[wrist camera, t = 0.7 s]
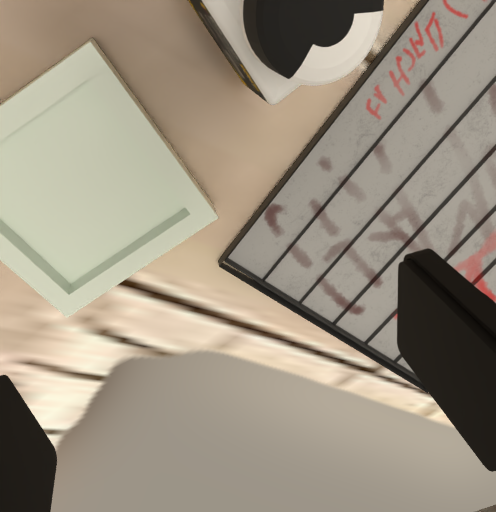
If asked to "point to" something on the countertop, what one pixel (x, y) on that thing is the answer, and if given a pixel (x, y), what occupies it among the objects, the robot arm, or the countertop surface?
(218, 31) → the medicine bottle
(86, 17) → the countertop surface
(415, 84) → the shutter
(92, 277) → the pale green square tray
